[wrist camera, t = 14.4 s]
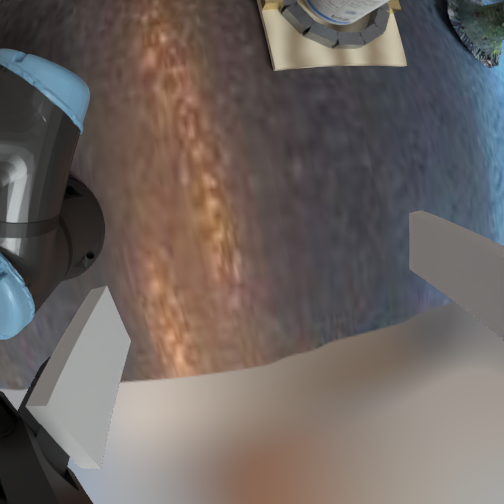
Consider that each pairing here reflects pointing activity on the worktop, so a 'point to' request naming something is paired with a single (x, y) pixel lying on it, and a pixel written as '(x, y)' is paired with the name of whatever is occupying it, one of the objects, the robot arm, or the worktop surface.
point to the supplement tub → (342, 9)
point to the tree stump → (479, 28)
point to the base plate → (316, 55)
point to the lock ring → (327, 36)
